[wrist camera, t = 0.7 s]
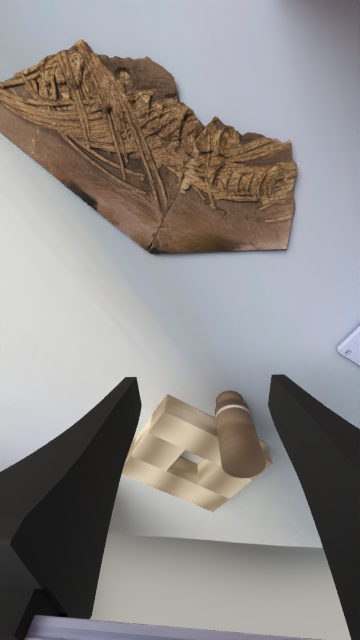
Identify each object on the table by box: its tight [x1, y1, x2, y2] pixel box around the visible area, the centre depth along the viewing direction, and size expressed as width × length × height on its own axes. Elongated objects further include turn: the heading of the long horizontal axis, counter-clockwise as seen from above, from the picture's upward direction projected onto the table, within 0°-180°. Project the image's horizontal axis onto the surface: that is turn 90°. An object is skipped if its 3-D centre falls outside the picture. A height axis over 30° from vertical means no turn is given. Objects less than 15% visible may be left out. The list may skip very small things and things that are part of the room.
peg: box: [215, 391, 266, 478], centre depth 20 cm, size 4×4×7 cm
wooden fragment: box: [0, 39, 297, 254], centre depth 15 cm, size 26×11×1 cm, turn 66°
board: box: [122, 395, 272, 512], centre depth 25 cm, size 14×12×2 cm
